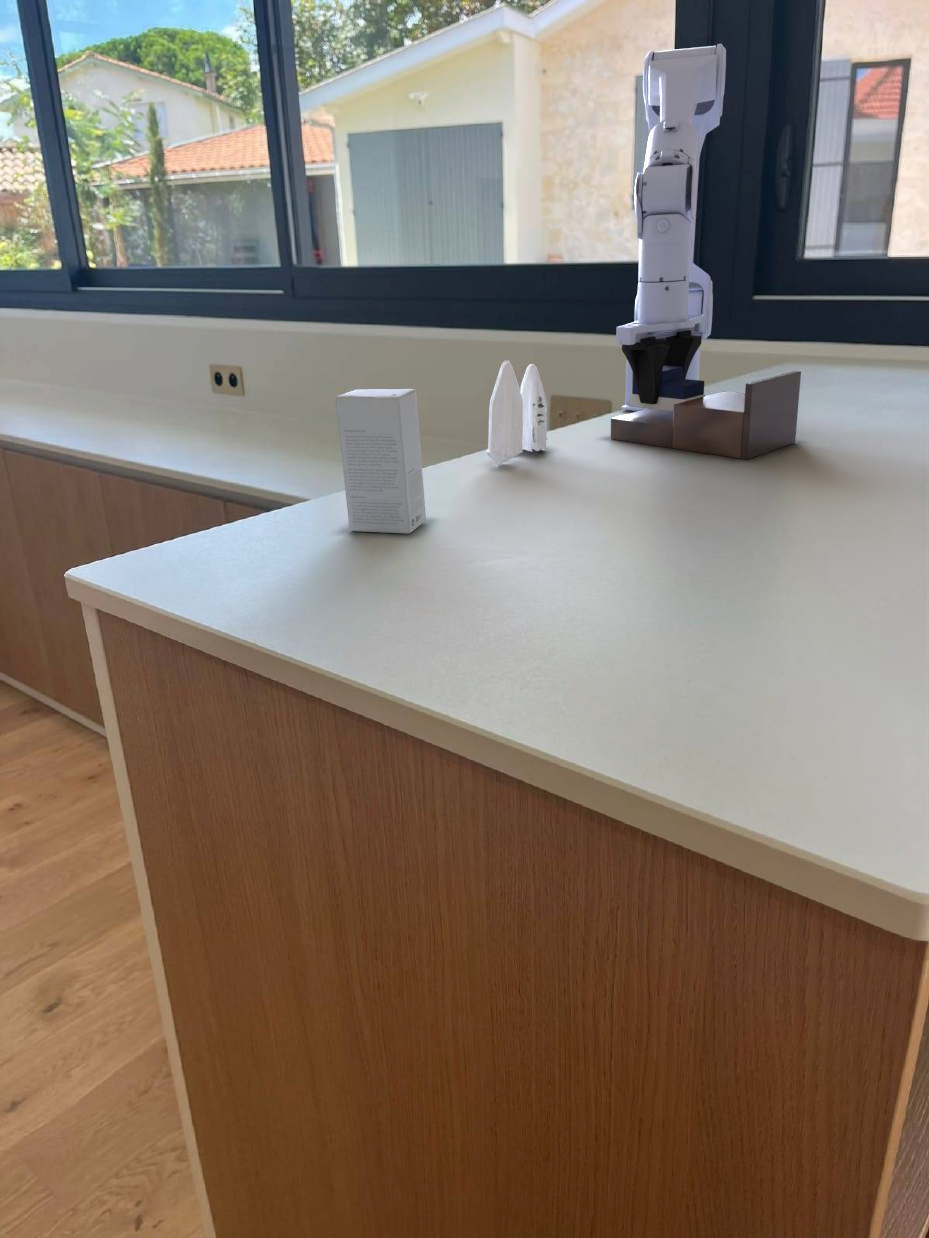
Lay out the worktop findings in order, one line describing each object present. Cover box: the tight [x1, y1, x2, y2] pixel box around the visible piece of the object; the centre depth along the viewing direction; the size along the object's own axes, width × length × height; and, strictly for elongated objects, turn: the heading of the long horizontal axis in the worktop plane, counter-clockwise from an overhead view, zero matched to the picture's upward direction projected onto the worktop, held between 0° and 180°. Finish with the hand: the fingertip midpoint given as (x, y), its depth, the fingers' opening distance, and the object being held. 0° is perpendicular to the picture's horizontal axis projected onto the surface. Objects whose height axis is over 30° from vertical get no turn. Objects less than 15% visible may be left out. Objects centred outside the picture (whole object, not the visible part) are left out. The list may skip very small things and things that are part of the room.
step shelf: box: [610, 370, 802, 460], centre depth 110 cm, size 19×10×8 cm, turn 43°
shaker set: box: [486, 360, 548, 466], centre depth 106 cm, size 12×4×11 cm, turn 152°
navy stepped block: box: [630, 365, 706, 411], centre depth 113 cm, size 8×4×4 cm, turn 43°
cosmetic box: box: [334, 388, 427, 534], centre depth 83 cm, size 6×4×12 cm
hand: (660, 400), depth 114 cm, fingers closed on navy stepped block, 4 cm apart
